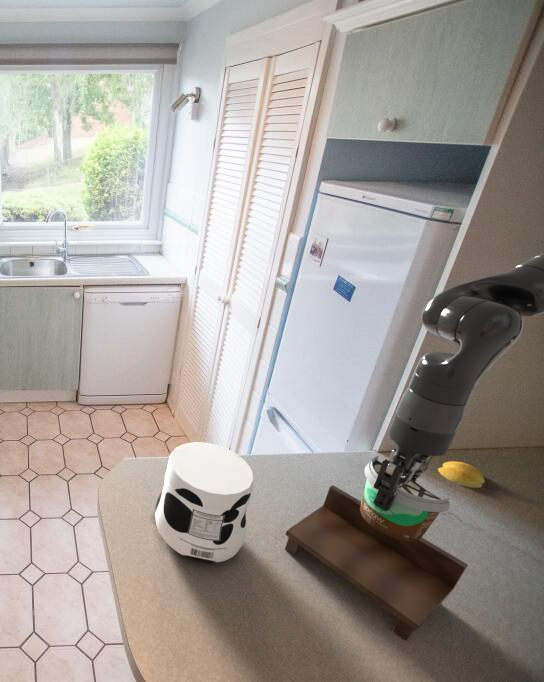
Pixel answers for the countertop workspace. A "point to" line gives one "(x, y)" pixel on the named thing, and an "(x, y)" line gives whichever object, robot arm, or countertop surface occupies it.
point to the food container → (401, 507)
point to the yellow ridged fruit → (462, 474)
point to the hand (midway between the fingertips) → (391, 499)
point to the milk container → (204, 502)
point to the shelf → (378, 560)
